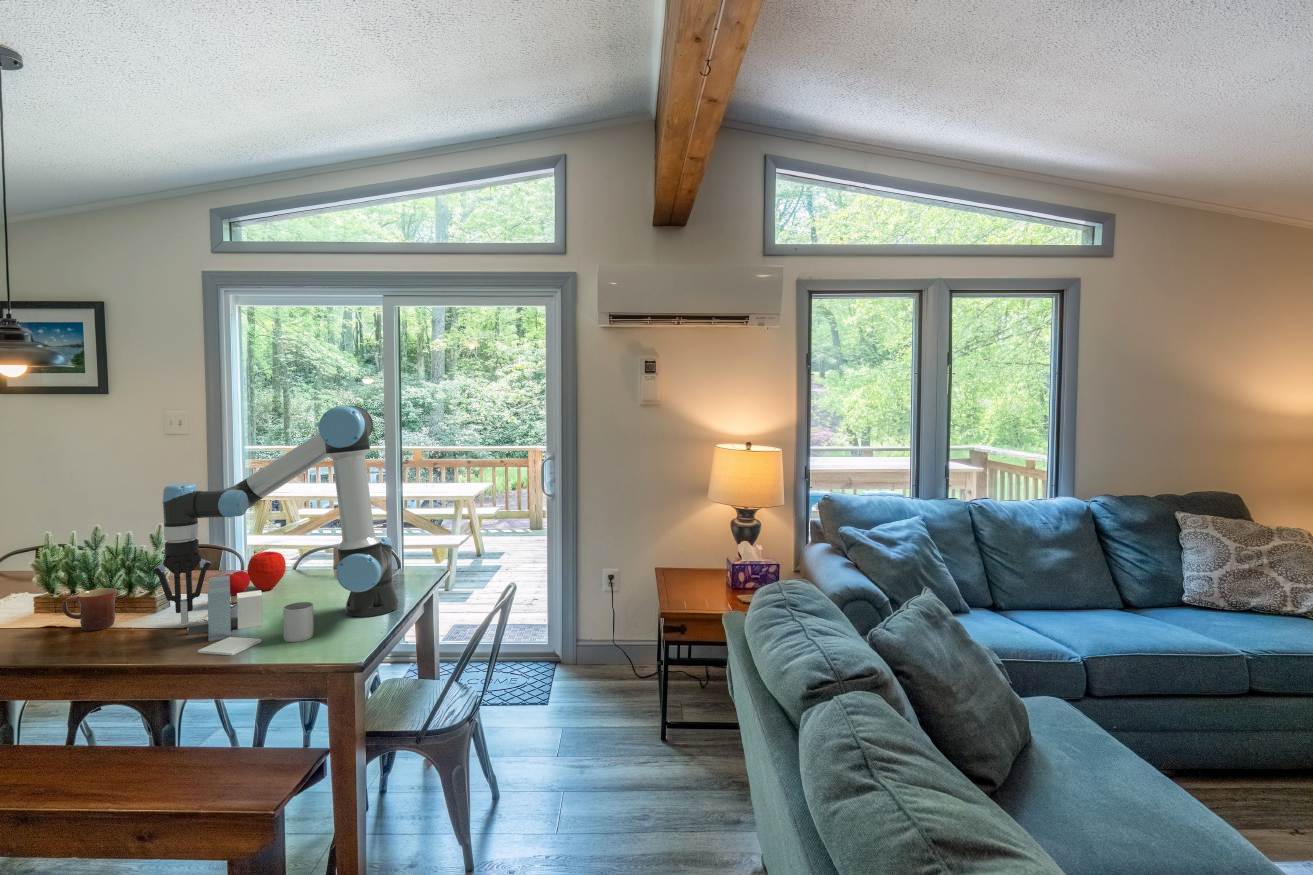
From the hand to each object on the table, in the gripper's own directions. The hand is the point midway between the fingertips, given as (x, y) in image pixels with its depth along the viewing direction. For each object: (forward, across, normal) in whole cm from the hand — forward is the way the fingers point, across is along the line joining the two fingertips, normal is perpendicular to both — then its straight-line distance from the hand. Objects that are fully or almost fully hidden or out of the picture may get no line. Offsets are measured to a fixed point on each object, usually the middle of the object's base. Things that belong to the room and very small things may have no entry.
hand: (184, 623), depth 175 cm
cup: (+4, -26, +18) cm, 32 cm away
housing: (+3, -8, 0) cm, 9 cm away
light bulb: (+3, -12, -26) cm, 29 cm away
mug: (+3, +22, -20) cm, 30 cm away
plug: (+3, -9, 0) cm, 10 cm away
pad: (+3, -10, +18) cm, 21 cm away
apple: (+4, -21, -40) cm, 45 cm away
